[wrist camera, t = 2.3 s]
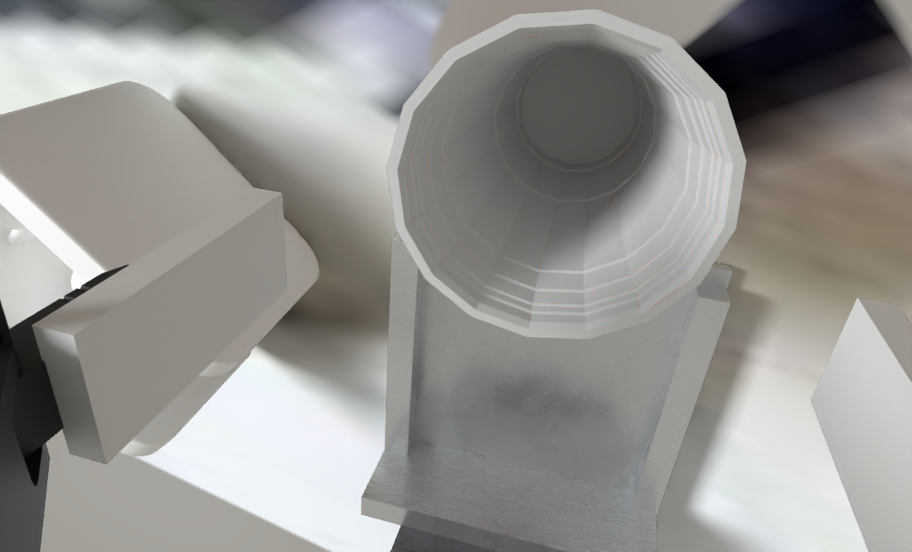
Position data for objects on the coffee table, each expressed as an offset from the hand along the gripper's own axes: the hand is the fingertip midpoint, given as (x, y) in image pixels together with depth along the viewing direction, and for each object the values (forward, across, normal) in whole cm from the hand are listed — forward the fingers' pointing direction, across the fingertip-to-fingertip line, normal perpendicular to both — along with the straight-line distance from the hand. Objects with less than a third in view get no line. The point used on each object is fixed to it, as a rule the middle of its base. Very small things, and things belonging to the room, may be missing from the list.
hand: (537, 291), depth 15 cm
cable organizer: (+17, -21, -10) cm, 29 cm away
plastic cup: (+17, 0, 0) cm, 17 cm away
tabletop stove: (+17, 0, -17) cm, 24 cm away
